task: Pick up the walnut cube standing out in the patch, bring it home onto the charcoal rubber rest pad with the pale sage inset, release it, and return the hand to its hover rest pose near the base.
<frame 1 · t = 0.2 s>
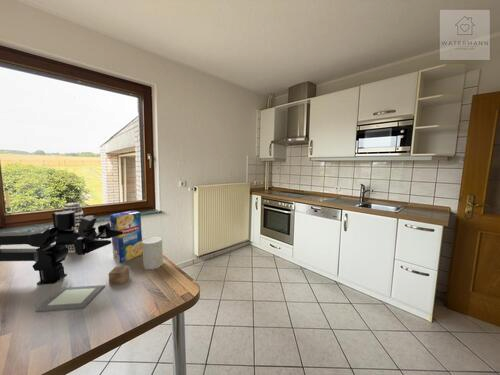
hand: (117, 237, 84), 17 cm above the table, tool horizontal, fingers open, 9 cm apart
decorative candle: (77, 249, 111), on the table
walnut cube: (119, 281, 83), on the table
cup: (153, 265, 96), on the table
rest pad: (73, 297, 72), on the table
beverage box: (128, 257, 104), on the table
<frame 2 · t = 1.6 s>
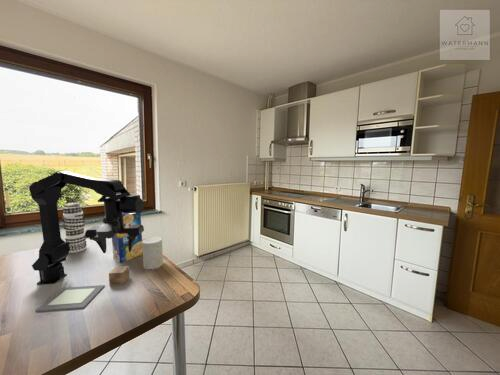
hand: (117, 252, 81), 12 cm above the table, tool pointing down, fingers open, 9 cm apart
nothing on the table moved.
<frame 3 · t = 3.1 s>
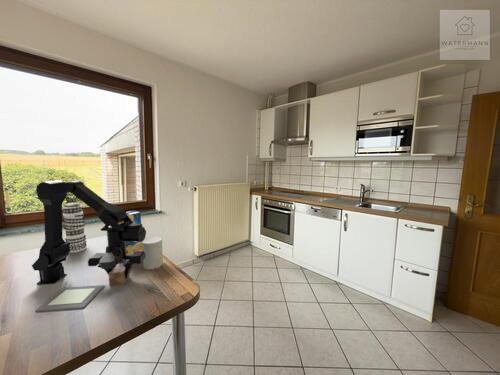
hand: (119, 278, 83), 1 cm above the table, tool pointing down, fingers closed on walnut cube, 5 cm apart
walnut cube: (119, 281, 83), on the table, touching gripper
everything else where it was.
when the fingers open (3 cm above the table, at t = 6.9 s): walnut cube drops 1 cm, resting on rest pad.
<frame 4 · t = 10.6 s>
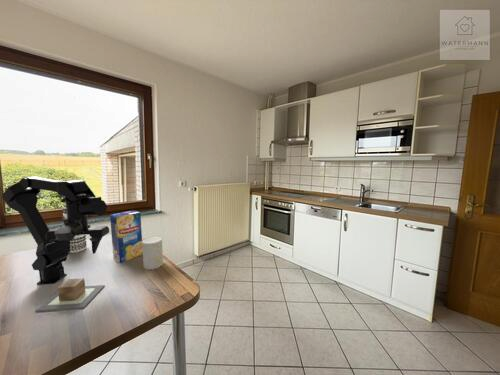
hand: (81, 254, 79), 12 cm above the table, tool pointing down, fingers open, 9 cm apart
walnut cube: (72, 296, 72), point 1 cm above the table, touching rest pad
everything else where it was.
at the end: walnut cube inside the target area on the rest pad (0.0 cm from its centre), point 0.7 cm above the rest pad's base; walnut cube tilted 0°; the gripper is holding nothing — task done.
